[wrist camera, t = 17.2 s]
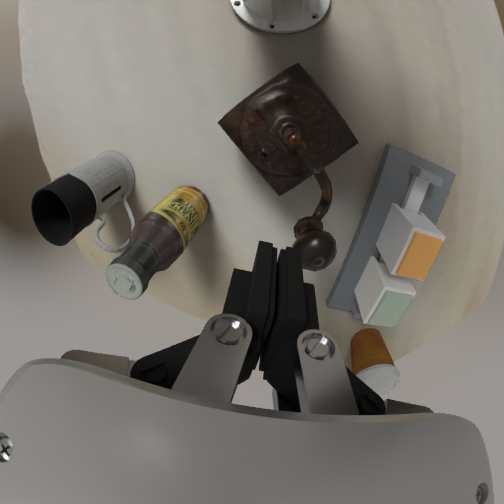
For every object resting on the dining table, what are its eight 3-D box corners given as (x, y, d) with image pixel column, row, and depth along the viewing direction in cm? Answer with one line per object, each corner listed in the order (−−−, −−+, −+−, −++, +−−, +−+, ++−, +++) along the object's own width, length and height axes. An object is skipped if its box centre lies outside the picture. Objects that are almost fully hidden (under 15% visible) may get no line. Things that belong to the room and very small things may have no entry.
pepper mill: (225, 119, 33) (177, 140, 18) (293, 68, 28) (305, 40, 13) (297, 206, 38) (307, 287, 23) (362, 163, 34) (420, 219, 19)
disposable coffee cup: (335, 337, 52) (341, 388, 41) (377, 315, 48) (391, 365, 37) (355, 358, 55) (363, 404, 45) (393, 338, 51) (407, 384, 41)
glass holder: (101, 140, 35) (33, 170, 22) (173, 186, 38) (123, 234, 26) (85, 185, 39) (26, 226, 27) (150, 229, 42) (104, 286, 30)
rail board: (386, 143, 32) (417, 160, 24) (450, 171, 32) (486, 194, 24) (326, 301, 47) (332, 343, 39) (383, 311, 47) (396, 350, 39)
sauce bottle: (218, 212, 40) (172, 306, 23) (183, 228, 42) (126, 319, 25) (196, 174, 37) (128, 246, 20) (161, 192, 39) (86, 268, 22)
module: (392, 202, 35) (415, 228, 28) (422, 212, 35) (447, 239, 28) (375, 244, 38) (392, 276, 31) (405, 252, 38) (424, 283, 31)
